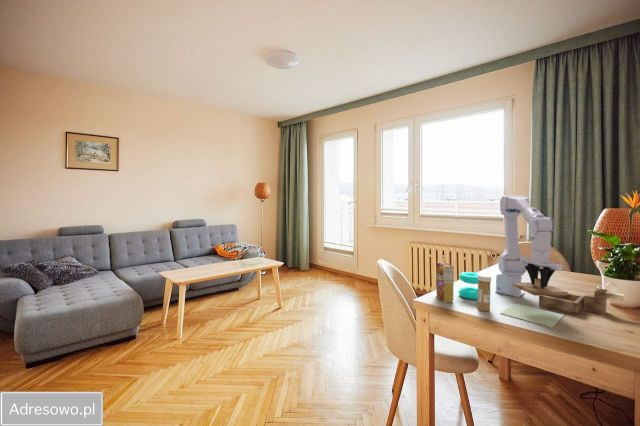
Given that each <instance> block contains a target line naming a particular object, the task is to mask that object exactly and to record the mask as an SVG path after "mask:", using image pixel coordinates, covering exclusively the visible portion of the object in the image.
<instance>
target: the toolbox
mask: <svg viewBox="0 0 640 426" xmlns="http://www.w3.org/2000/svg"><path fill="white" fill-rule="evenodd" d="M584 297H585V295H579V294H576V293H575V294H574V293H569V292H568V295H538V307H539V308H544V309H548V310H552V311H557V312H561V313H566V314H570V315H574V316H578V315H579V314H580V313H581V312H582V311H583V310H584Z"/></svg>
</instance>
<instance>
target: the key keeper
mask: <svg viewBox="0 0 640 426" xmlns="http://www.w3.org/2000/svg"><path fill="white" fill-rule="evenodd" d="M594 290H595V296H594V294H591V293H586V294H584V296H585V297H584V308H583V311H586V312H587V311H588V312H591V313H592V312H593V313H596V314H601V315H606V313H607V309H608V308H607V304H608V298H606V292H608V289H603V288H598V287H597V288H596V289H594ZM605 291H606V292H605Z"/></svg>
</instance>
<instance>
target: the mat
mask: <svg viewBox="0 0 640 426" xmlns="http://www.w3.org/2000/svg"><path fill="white" fill-rule="evenodd" d="M499 314H500V315H502V314H504V315H503V316H506V315H507V316H508V317H510V316H511V318H514V317H515V318H514V319H518V318H519V319H518V320H521V319H523V320H522V321H525V320H526V322H529V321H530V322H529V323H533V322H534V323H533V324H537V325H540V324H541V325H540V326H544V327H549V328H553V327H554V326H556V325H557V323H558V322H560V320H562V318H564V317H565V314H562V313H558V312H553V311H549V310H545V309H542V308H536V307H533V306H532V307H531V306H528V305H524V304H520V303H514V304H512V305H511V306H509V307H508V308H506V309H504V310H503V311H502V312H500V313H499ZM507 316H506V317H507Z"/></svg>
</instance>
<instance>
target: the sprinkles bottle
mask: <svg viewBox="0 0 640 426" xmlns="http://www.w3.org/2000/svg"><path fill="white" fill-rule="evenodd" d="M478 274H479V275H478V284H477V288H478V300H477V307H476V308H477V310H479V311H482V312H489V311H491V282H492V276H491V275H489V274H485V273H484V274H483V273H478Z"/></svg>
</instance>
